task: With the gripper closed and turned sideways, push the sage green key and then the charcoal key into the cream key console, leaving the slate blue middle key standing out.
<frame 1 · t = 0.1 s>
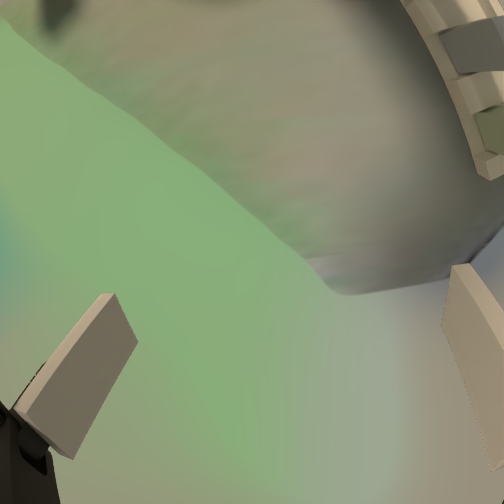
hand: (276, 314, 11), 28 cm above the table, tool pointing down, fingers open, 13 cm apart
key slate: (482, 46, 19), point 7 cm above the table, slide at 0.0 cm
key console: (462, 49, 25), on the table
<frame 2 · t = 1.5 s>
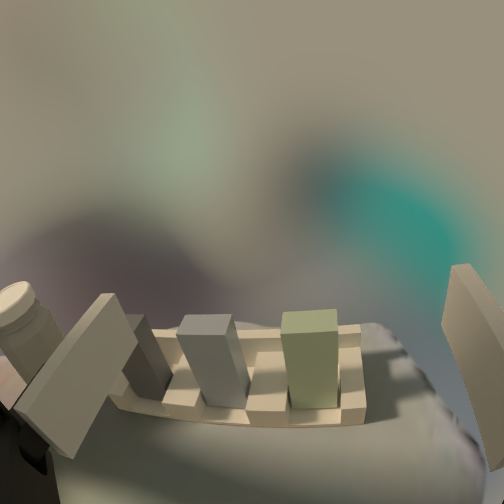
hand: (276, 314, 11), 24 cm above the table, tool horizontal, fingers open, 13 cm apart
jar: (67, 391, 40), on the table
key slate: (218, 365, 32), point 7 cm above the table, slide at 0.0 cm
key charcoal: (140, 360, 35), point 7 cm above the table, slide at 0.0 cm
key console: (235, 392, 37), on the table
key sage: (312, 364, 30), point 7 cm above the table, slide at 0.0 cm
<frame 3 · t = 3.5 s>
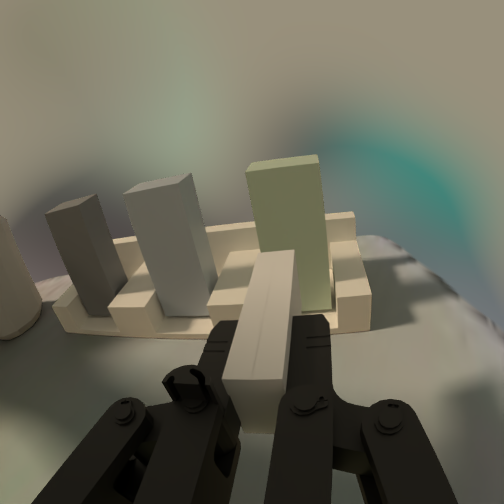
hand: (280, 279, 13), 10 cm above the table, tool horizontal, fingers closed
jar: (19, 323, 34), on the table
key slate: (176, 249, 27), point 7 cm above the table, slide at 0.0 cm
key charcoal: (90, 258, 29), point 7 cm above the table, slide at 0.0 cm
key console: (201, 304, 31), on the table
key sage: (294, 238, 24), point 7 cm above the table, slide at 0.0 cm
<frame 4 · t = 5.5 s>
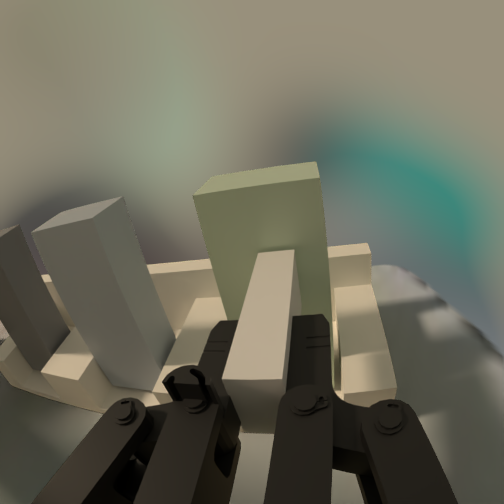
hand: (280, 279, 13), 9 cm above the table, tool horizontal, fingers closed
key slate: (112, 306, 18), point 7 cm above the table, slide at 0.0 cm
key charcoal: (22, 305, 20), point 7 cm above the table, slide at 0.0 cm
key console: (160, 368, 22), on the table
key sage: (280, 293, 16), point 7 cm above the table, slide at 0.4 cm, touching gripper
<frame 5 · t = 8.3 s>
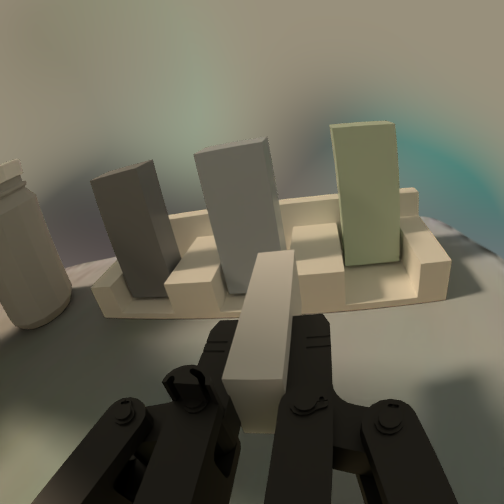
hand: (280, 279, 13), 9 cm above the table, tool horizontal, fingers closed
jar: (45, 311, 32), on the table
key slate: (247, 218, 25), point 7 cm above the table, slide at 0.0 cm
key charcoal: (140, 232, 27), point 7 cm above the table, slide at 0.0 cm
key console: (264, 282, 29), on the table
key sage: (367, 193, 25), point 7 cm above the table, slide at 3.1 cm
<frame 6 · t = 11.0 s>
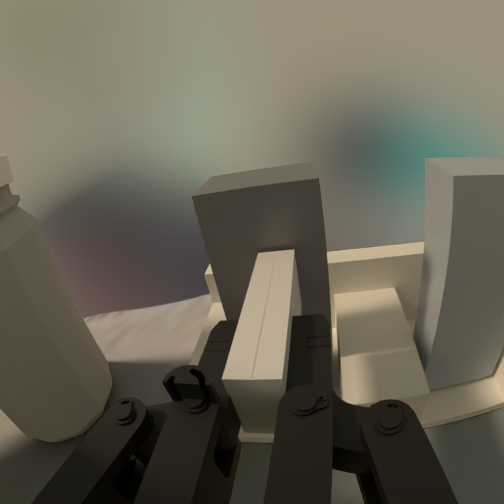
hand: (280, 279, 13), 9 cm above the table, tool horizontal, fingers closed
jar: (68, 403, 19), on the table
key slate: (472, 284, 13), point 7 cm above the table, slide at 0.0 cm
key charcoal: (279, 293, 16), point 7 cm above the table, slide at 1.1 cm, touching gripper
key console: (441, 359, 17), on the table
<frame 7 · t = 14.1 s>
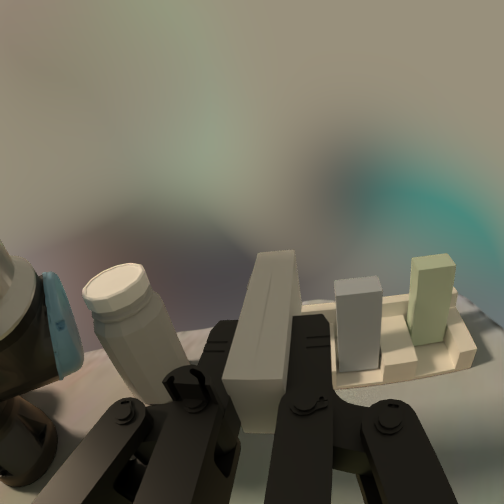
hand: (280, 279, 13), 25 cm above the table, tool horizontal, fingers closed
jar: (164, 384, 42), on the table
key slate: (358, 327, 35), point 7 cm above the table, slide at 0.0 cm
key charcoal: (277, 319, 40), point 7 cm above the table, slide at 3.0 cm
key console: (356, 359, 39), on the table
key sage: (429, 302, 35), point 7 cm above the table, slide at 3.1 cm
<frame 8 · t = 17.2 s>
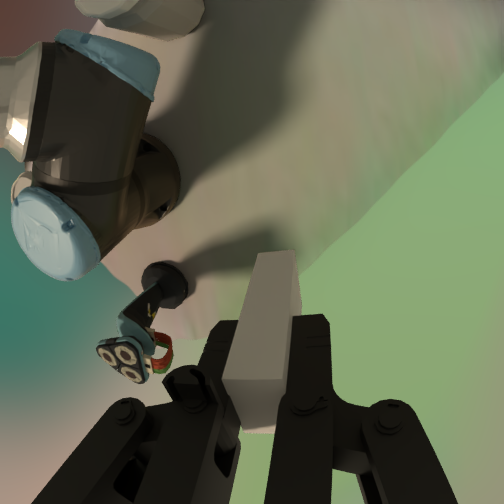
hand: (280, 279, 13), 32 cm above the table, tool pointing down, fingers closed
electric shaver: (172, 284, 56), on the table
jar: (174, 12, 34), on the table
disposable coffee cup: (72, 179, 49), on the table
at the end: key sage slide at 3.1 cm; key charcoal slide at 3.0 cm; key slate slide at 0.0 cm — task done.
